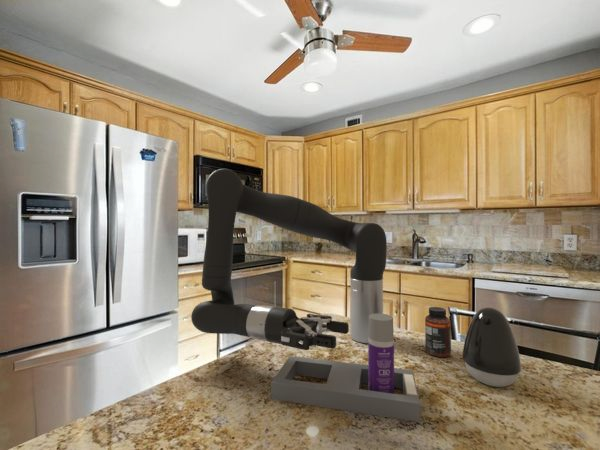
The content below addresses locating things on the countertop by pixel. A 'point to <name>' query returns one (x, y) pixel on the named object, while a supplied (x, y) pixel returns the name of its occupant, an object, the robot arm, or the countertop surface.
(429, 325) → the supplement bottle
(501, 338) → the pump dispenser
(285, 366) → the socket board
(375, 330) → the container
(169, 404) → the countertop surface
